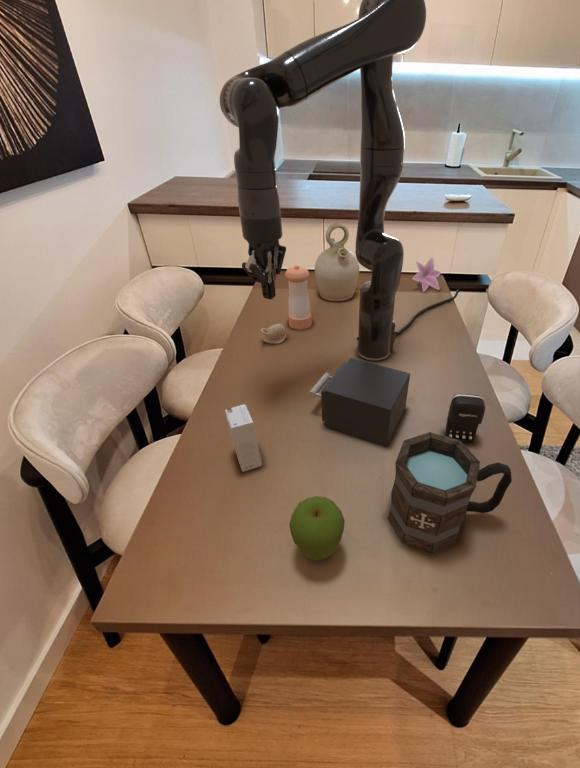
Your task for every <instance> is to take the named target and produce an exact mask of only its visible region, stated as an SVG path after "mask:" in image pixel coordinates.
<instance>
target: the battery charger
mask: <svg viewBox="0 0 580 768" xmlns="http://www.w3.org/2000/svg"><path fill="white" fill-rule="evenodd" d="M485 412H486V403H485V399H484V398H483V397H482V396H481V395H479V394H471V393H455V394H453V396H452V397H451V399H450V402H449V405H448V410H447V415H446V422H445V427H444V429H443V434H444V436H446V437H450V438H454V439H457V440H460V441H461V442H462V443H473V442H475V440H476V434H477V431H478V428H479V425H481V424H482V422H483V420H484V416H485Z"/></svg>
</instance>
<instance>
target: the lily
mask: <svg viewBox="0 0 580 768" xmlns="http://www.w3.org/2000/svg"><path fill="white" fill-rule="evenodd" d="M416 267H417V269H418V272H417V273H415V274H414V275H413V276H412V278H411V279H412V280H413V281H415V282H418V283H421V287H422V292H423V293H425V292H426V291H427V289H428V288H429V286H430V287H431V288H433V289H436V290H438V291H439V290H440V285H439V282H438V279H437V278H438V277H439V276H440V275H441V274H442V272H441V271H439V270H435V261H434V258H433V257H430V258H429V260H428V261H427V262H426V264H422V263H420V262H418V261H417V262H416Z"/></svg>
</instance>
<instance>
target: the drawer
mask: <svg viewBox="0 0 580 768" xmlns="http://www.w3.org/2000/svg"><path fill="white" fill-rule="evenodd" d="M347 362H348V360H347V361H346V360H344V361H343V362H342V364H341V365H340V366H339V367H338V369H336V371H335V372H334V374H333V375H331V374H330V373H329V372H324V374H322V376H321V377H320V378H319V380H318V381H317V382H316V383H315V385H314V386H313V387H312V388H311V390H310V391H309V392H308V395H309V397H311V398H315V397H318V398H321V421H322V422H324V423H326V415H325V390H326V389H327V388H328V386H329V385H330V384H331V382H332V381H333V380H334V378H335V377H336V376H337V375H338V373H339V372H340V371H341V369H342V368H343V367H344V366H345V364H346V363H347ZM320 391H321V392H320ZM319 392H320V393H319Z"/></svg>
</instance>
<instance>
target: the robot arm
mask: <svg viewBox="0 0 580 768" xmlns="http://www.w3.org/2000/svg"><path fill="white" fill-rule="evenodd" d="M357 17H358V18H357V19H355V20H353V21H351V22H348V23H347V24H343V25H342V26H339V27H337V28H334V29H331V30H328V31H325V32H323V33H320V34H318V35H315V36H313V37H312V36H311V37H310V38H308V39H306V40H304V41H302V42H300V43H297V44H296V45H295V46H293V47H290V48H289V49H287V50H285V51H283V52H282V53H280V54H279V55H278V56H276V57H275V58H273V59H272V60H271V59H270V60H269V61H267V62H265V63H262V64H259V65H257V66H253V67H251V68H249V69H246V70H244V71H242V72H240V73H238V74H235V75H234V76H232V77H230V78H229V79H228V80H227V81H226V82H225V83H224V84H223V86H222V87H221V90H220V92H219V107H220V110H221V112H222V115H223V117H224V118H225V119H226V121H228V123H230V124H231V125H233V126H234V127H236V128H238V134H239V135H238V141H239V148H237V149H236V150H235V152H234V155H233V165H234V171H235V172H234V173H235V179H236V186H237V187H236V188H237V204H238V212H239V218H240V219H239V220H240V225H241V226H240V227H241V232H242V237H243V238H244V240H245V241H246V242H247V244H248V250H247V254H248V256H249V257H248V259H247V261H246V262H245V261H244V262H242V263H241V268H242V269H243V271H245V273H246V274H247V275H248V277H250V278H251V280H252V281H253V282H255V283H259V284H260V286H261V291H262V292H261V294H262V297H263V298H264V299H266V300H270V301H271V300H273V299H274V298H275V297H276V296H277V295H276V283H275V281H276V280H277V276H278V275H280V274H281V273H282V272H281V271H282V268H283V263H284V260H285V255H286V253H287V247H286V245H285V246H284V245H281V244H280V239H282V237H283V226H282V225H283V224H282V211H281V199H280V193H279V190H278V181H277V168H276V158H275V157H276V151H277V143H278V135H279V133H278V132H279V117H280V116H279V110H281V109H284V108H292V107H297V106H298V105H300V104H303V103H304V102H306V101H308V99H310V98H312V97H314V96H315V95H317V94H319V93H320V92H322V91H324V90H326V89H327V88H328V87H331V86H332V85H333V84H335V83H337V82H338V81H340V80H341V79H344V78H345V77H347V76H349V75H351V74H353V73H354V72H357V71H359V72H360V73H359V74H360V118H361V119H360V143H359V144H360V147H359V149H360V150H359V164H360V165H359V175H360V176H359V177H360V178H359V206H358V219H357V226H356V227H357V228H356V234H355V235H356V236H355V245H354V248H355V249H354V252H355V256H356V258H357V260H358V263H359V265H361V266H362V267H363V268H365V269H367V270H368V271H371V278H370V280H368V281H366V282H363V283H362V284H361V286H360V288H359V305H358V306H359V307H358V332H357V337H356V341H357V349H356V353H357V355H358V356H359V357H360V358H361V359H364V360H366V361H371V362H379V361H383V360H386V359H387V358H388V357H390V355H391V354H393V350H394V344H395V339H396V336H399V335H401V334H402V333H403V332H404V331H405V330H407V328H409V327H410V326H411V325H412V324H413V322H414V321H415V320H416V318H418V317H419V316H420V315H421V314H423V313H425V312H426V311H428V310H431V309H433V308H435V307H437V306H440V305H443V304H445V303H448V302H451V301H453V300H455V299H456V298H457V297H458V295H459V293H460V290H459V289H456V291H455V294H454V295H453V296H452V297H450V298H447V299H444V300H441V301H439V302H436V303H434V304H432V305H429V306H427V307H425V308H423V309H422V310H419V311H418V312H417V313H416V314H415V315H414V316H412V318H411V319H410V320H409V322H408V323H407V324H406V325H404V327H403V328H401V329H400V330H399V331H396V323H395V322H394V315H395V314H394V313H395V302H396V294H397V292H398V290H399V287H400V283H401V278H402V270H403V264H404V258H405V256H404V255H405V252H404V245H403V244H402V242H401V241H400V240H399V239H397V238H395V236H394V237H393V236H392V235H390V234H386V233H385V214H386V209H387V205H388V202H389V201H390V198H391V197H392V195H393V193H394V191H395V189H396V188H397V186H398V184H399V181H400V179H401V177H402V173H403V168H404V155H405V141H406V139H405V130H404V126H403V122H402V117H401V114H400V112H399V108H398V105H397V101H396V98H395V97H396V96H395V93H394V87H393V65H394V63H393V62H394V55H398V54H402V53H405V52H407V51H409V50H411V49H413V48H414V46H415V45H417V43H418V42H419V40H420V39H421V37H422V35H423V33H424V30H425V27H426V23H427V6H426V2H425V0H361V2H360V5H359V9H358V16H357Z"/></svg>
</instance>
